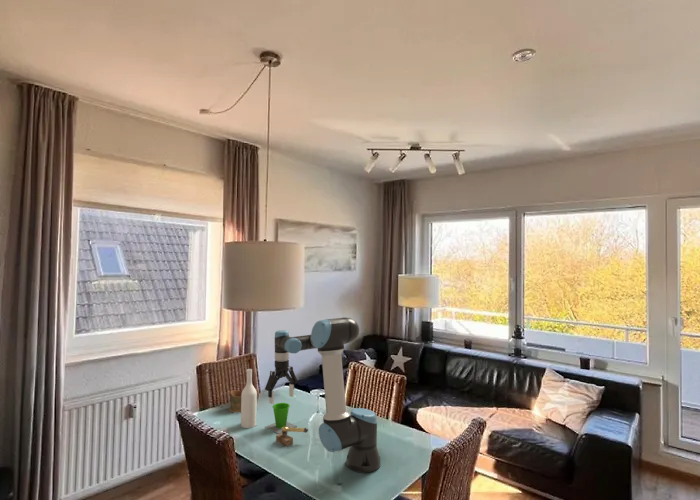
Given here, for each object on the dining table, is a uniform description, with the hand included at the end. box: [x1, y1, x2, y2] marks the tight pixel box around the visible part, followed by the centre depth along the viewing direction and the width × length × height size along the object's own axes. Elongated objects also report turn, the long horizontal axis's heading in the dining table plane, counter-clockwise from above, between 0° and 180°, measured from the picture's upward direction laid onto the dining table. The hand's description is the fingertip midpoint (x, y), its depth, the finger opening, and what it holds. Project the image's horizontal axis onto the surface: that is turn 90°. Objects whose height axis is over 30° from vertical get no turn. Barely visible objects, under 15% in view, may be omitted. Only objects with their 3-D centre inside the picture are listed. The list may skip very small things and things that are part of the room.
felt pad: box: [264, 421, 298, 435], centre depth 209 cm, size 12×12×1 cm
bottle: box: [240, 368, 258, 429], centre depth 211 cm, size 8×8×30 cm
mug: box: [228, 388, 260, 413], centre depth 233 cm, size 12×18×12 cm, turn 89°
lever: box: [282, 426, 309, 433], centre depth 192 cm, size 13×3×2 cm, turn 85°
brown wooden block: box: [275, 432, 294, 448], centre depth 191 cm, size 8×4×5 cm, turn 49°
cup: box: [272, 402, 291, 428], centre depth 209 cm, size 9×9×11 cm
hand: (281, 399), depth 209 cm, fingers open, 13 cm apart
